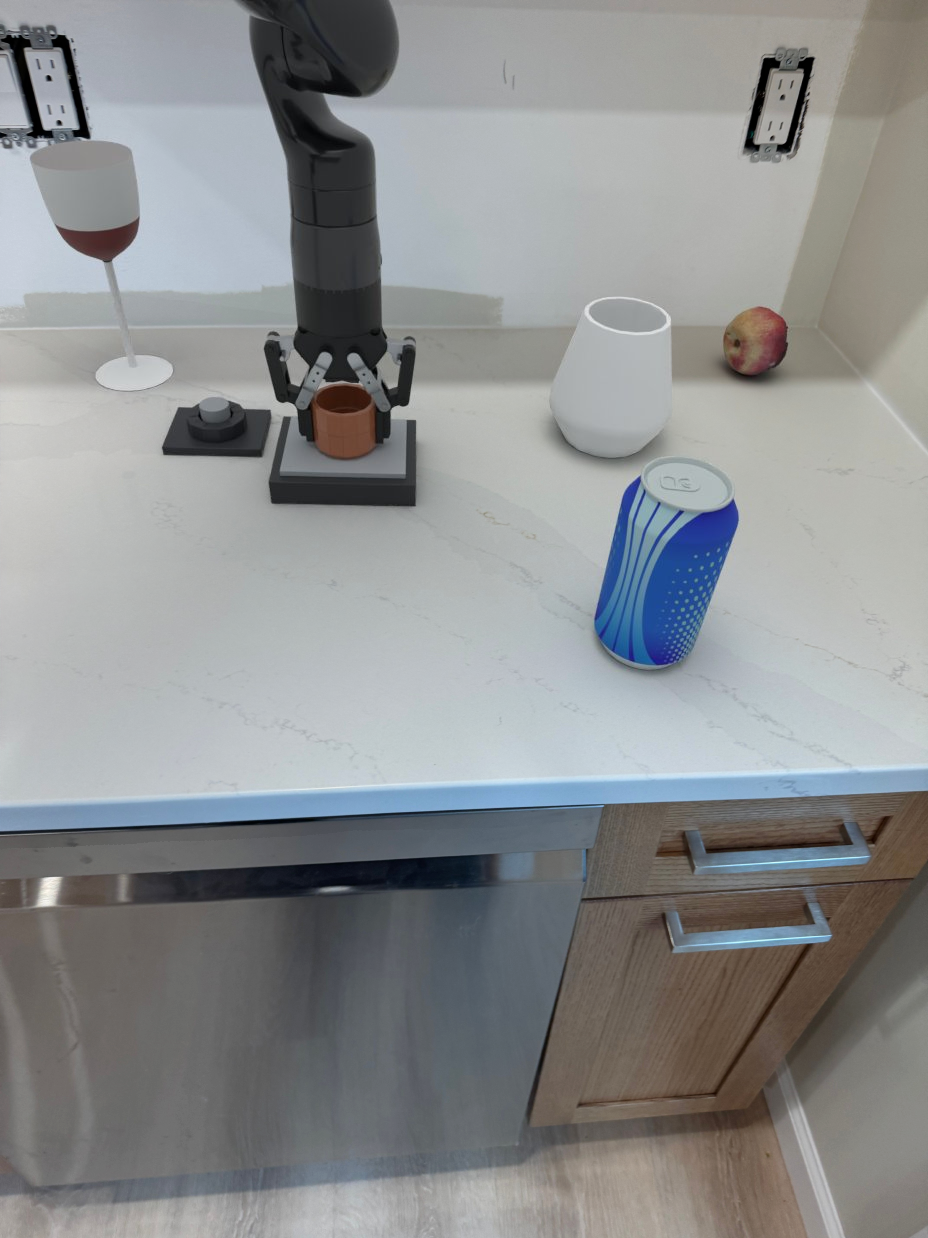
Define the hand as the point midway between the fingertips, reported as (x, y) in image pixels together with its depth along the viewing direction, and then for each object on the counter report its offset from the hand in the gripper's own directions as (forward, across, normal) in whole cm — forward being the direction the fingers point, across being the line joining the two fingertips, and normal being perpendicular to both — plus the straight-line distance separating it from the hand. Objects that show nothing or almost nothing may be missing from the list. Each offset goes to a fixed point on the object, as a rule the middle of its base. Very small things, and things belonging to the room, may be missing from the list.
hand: (346, 438), depth 82 cm
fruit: (+4, +49, +24) cm, 55 cm away
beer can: (+4, +26, -24) cm, 36 cm away
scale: (+4, 0, 0) cm, 4 cm away
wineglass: (+4, -26, +19) cm, 32 cm away
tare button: (+2, -14, +6) cm, 15 cm away
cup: (+4, +28, +8) cm, 29 cm away
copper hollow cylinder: (+1, 0, 0) cm, 1 cm away
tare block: (+4, -14, +6) cm, 16 cm away
